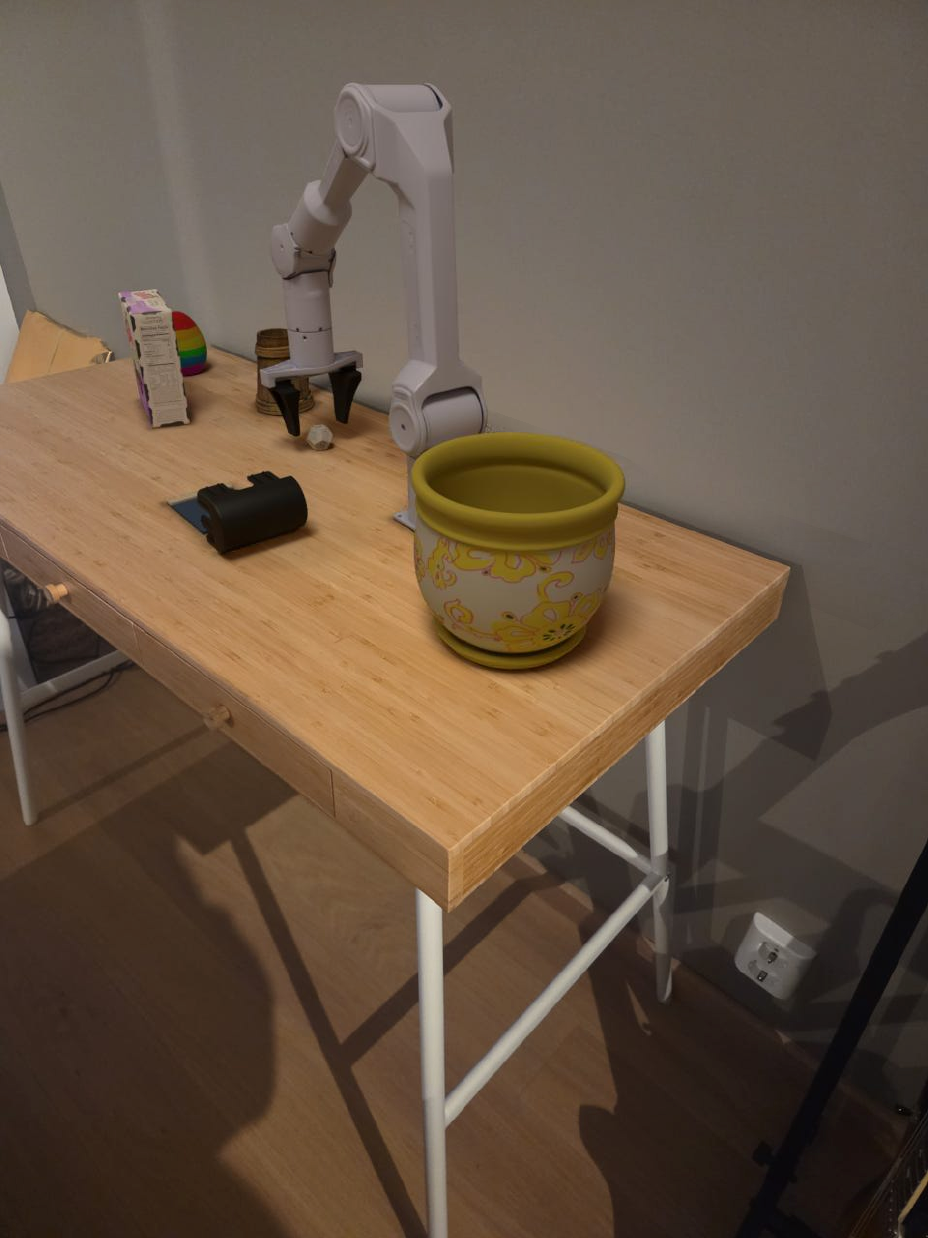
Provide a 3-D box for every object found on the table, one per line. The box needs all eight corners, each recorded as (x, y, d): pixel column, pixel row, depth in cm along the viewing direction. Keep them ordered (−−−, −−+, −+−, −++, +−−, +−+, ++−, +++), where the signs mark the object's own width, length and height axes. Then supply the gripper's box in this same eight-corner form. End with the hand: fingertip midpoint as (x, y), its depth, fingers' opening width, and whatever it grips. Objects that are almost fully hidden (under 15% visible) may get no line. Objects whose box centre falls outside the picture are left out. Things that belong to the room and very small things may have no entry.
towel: (266, 514, 98) (266, 509, 98) (203, 534, 94) (202, 529, 94) (228, 487, 105) (227, 481, 104) (167, 504, 100) (166, 499, 100)
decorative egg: (197, 361, 148) (187, 303, 143) (218, 372, 143) (209, 312, 138) (153, 370, 144) (141, 310, 138) (173, 381, 139) (161, 320, 133)
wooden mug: (349, 402, 131) (341, 282, 121) (270, 419, 125) (255, 293, 115) (322, 387, 137) (313, 272, 127) (246, 403, 130) (229, 282, 121)
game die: (302, 446, 116) (300, 426, 114) (324, 440, 118) (323, 420, 116) (315, 454, 114) (313, 433, 112) (338, 448, 116) (337, 427, 114)
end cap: (229, 566, 88) (219, 509, 84) (201, 541, 93) (190, 485, 89) (311, 539, 93) (306, 484, 89) (281, 516, 98) (274, 463, 94)
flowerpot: (641, 628, 79) (667, 468, 70) (524, 718, 68) (537, 541, 59) (497, 564, 89) (503, 416, 80) (374, 633, 78) (365, 471, 69)
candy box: (139, 400, 131) (116, 290, 122) (177, 395, 133) (158, 287, 124) (151, 429, 121) (127, 312, 112) (192, 423, 123) (172, 308, 114)
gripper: (340, 312, 113) (346, 408, 121) (243, 329, 105) (256, 431, 113) (369, 322, 109) (374, 422, 116) (271, 341, 101) (283, 447, 108)
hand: (318, 428), depth 114 cm, fingers open, 7 cm apart
